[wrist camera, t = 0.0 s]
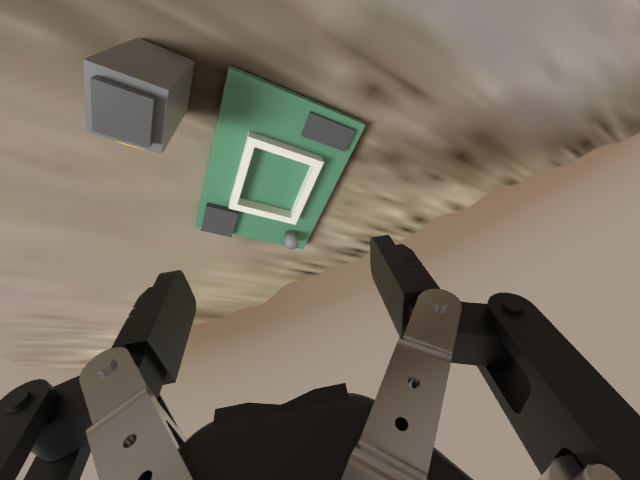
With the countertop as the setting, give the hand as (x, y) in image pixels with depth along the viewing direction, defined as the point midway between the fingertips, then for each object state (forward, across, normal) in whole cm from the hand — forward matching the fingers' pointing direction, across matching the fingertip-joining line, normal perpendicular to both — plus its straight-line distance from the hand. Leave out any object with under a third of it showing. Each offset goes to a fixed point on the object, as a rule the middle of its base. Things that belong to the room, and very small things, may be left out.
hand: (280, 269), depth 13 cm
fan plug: (+21, +8, -7) cm, 24 cm away
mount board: (+23, +1, +4) cm, 23 cm away
